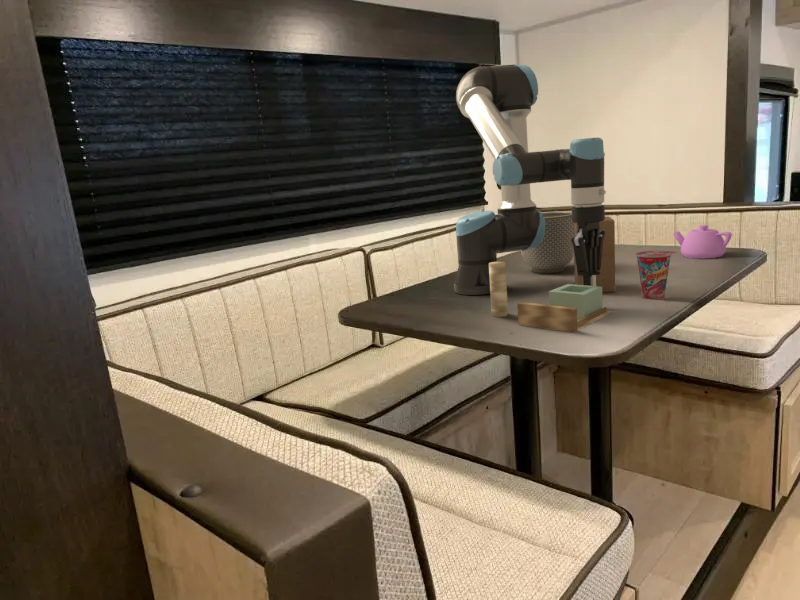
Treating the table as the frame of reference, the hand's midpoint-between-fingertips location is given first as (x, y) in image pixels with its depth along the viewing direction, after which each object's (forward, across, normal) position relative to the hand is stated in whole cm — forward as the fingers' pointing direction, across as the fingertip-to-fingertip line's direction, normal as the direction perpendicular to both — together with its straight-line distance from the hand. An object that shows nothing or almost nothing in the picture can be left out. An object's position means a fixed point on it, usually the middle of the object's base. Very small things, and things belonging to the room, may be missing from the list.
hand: (589, 301), depth 146 cm
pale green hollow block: (+1, -7, 0) cm, 7 cm away
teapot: (+3, +83, 0) cm, 83 cm away
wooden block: (+3, +23, +10) cm, 25 cm away
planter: (+3, +44, +37) cm, 57 cm away
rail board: (+3, -11, 0) cm, 12 cm away
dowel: (+3, -15, +16) cm, 22 cm away
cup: (+3, +18, -9) cm, 20 cm away
